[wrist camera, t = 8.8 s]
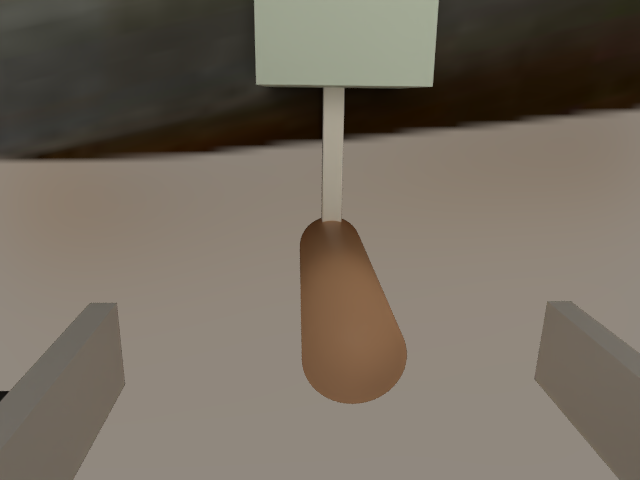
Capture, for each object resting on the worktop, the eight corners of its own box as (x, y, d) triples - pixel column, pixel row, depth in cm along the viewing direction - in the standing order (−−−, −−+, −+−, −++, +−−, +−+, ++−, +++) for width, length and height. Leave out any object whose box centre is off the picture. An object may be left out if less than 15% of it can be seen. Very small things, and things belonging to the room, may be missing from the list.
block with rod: (269, 275, 25) (250, 405, 15) (263, -64, 21) (230, -222, 10) (389, 274, 25) (454, 401, 15) (406, -60, 21) (513, -211, 11)
